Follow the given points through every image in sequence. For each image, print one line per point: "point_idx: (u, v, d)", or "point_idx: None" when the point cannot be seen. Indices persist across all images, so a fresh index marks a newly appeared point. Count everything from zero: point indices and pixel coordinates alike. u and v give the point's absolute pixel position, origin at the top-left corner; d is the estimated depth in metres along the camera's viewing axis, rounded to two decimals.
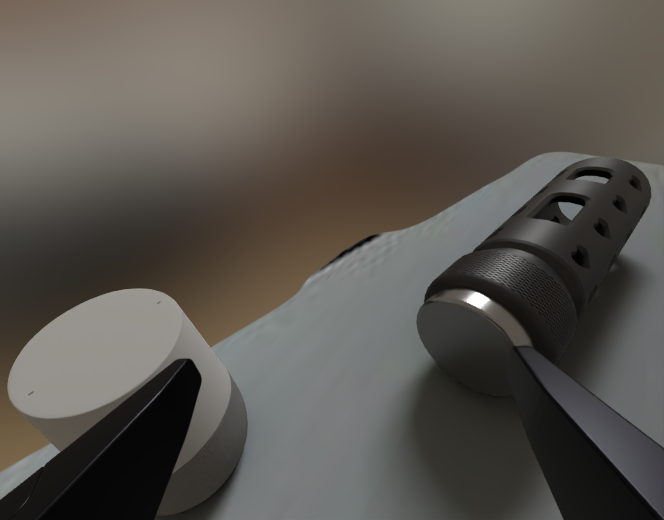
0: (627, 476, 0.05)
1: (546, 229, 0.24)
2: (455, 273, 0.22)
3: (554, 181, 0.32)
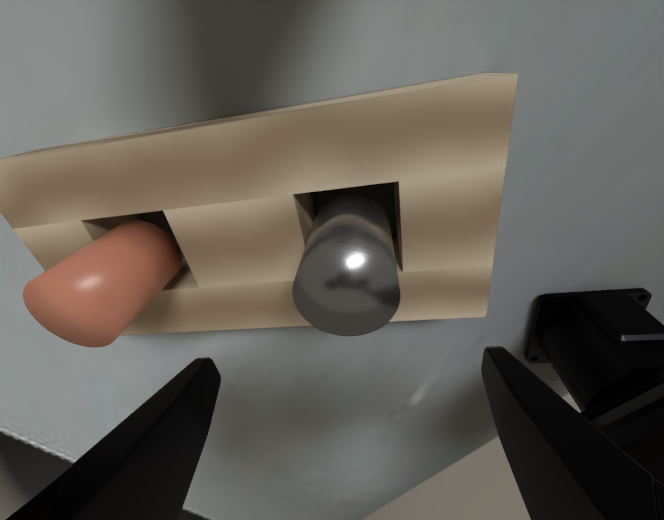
0: (581, 475, 0.05)
1: None
2: None
3: None
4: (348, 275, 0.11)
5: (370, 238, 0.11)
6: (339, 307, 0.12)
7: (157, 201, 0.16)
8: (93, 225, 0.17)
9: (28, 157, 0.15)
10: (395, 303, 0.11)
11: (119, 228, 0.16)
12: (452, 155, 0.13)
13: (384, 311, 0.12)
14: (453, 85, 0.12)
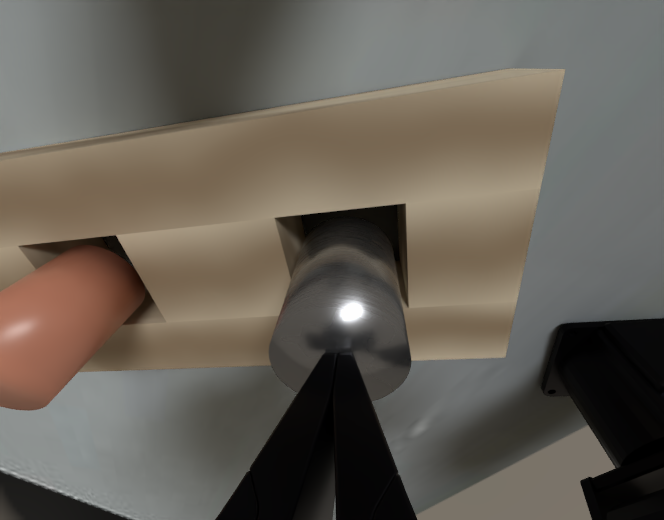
0: (340, 470, 0.05)
1: None
2: None
3: None
4: (342, 337, 0.08)
5: (370, 284, 0.09)
6: None
7: (108, 224, 0.13)
8: (35, 250, 0.14)
9: None
10: (404, 370, 0.09)
11: (63, 256, 0.13)
12: (474, 172, 0.10)
13: (389, 379, 0.09)
14: (479, 83, 0.09)
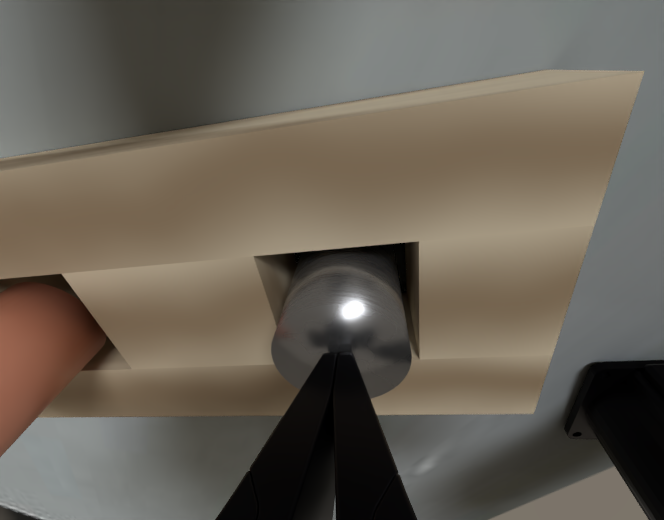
0: (340, 470, 0.05)
1: None
2: None
3: None
4: (344, 334, 0.08)
5: (372, 282, 0.09)
6: None
7: (51, 261, 0.10)
8: None
9: None
10: (404, 367, 0.09)
11: None
12: (509, 204, 0.08)
13: (390, 376, 0.09)
14: (522, 90, 0.07)
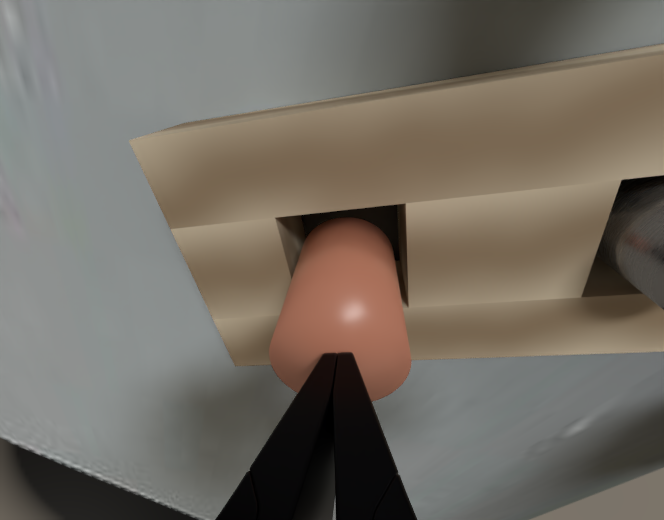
0: (340, 470, 0.05)
1: None
2: None
3: None
4: None
5: None
6: None
7: (403, 190, 0.11)
8: (281, 224, 0.13)
9: (230, 125, 0.10)
10: None
11: (340, 228, 0.11)
12: None
13: None
14: None
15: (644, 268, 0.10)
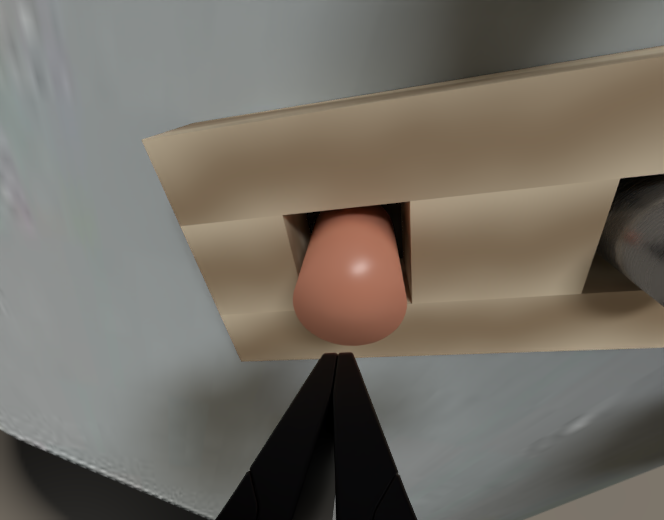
0: (340, 470, 0.05)
1: None
2: None
3: None
4: None
5: None
6: None
7: (408, 188, 0.11)
8: (288, 222, 0.13)
9: (240, 125, 0.11)
10: None
11: None
12: None
13: None
14: None
15: (642, 264, 0.10)
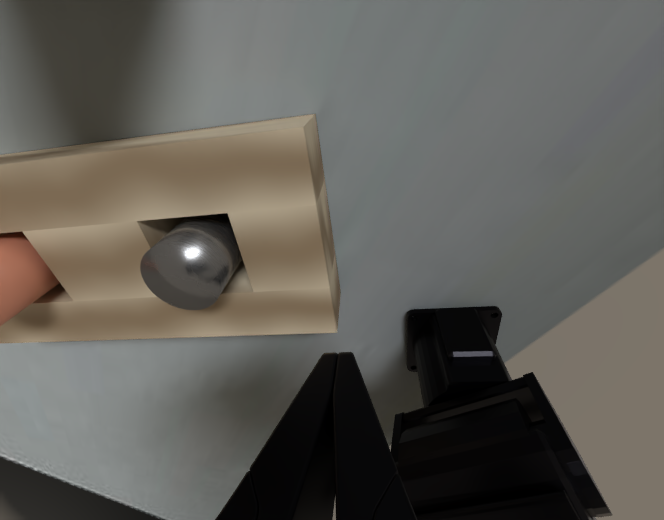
0: (340, 470, 0.05)
1: None
2: None
3: None
4: (177, 263, 0.15)
5: (200, 236, 0.15)
6: (178, 287, 0.16)
7: (15, 223, 0.17)
8: None
9: None
10: (217, 285, 0.15)
11: None
12: (267, 192, 0.14)
13: (211, 291, 0.15)
14: (252, 133, 0.13)
15: None
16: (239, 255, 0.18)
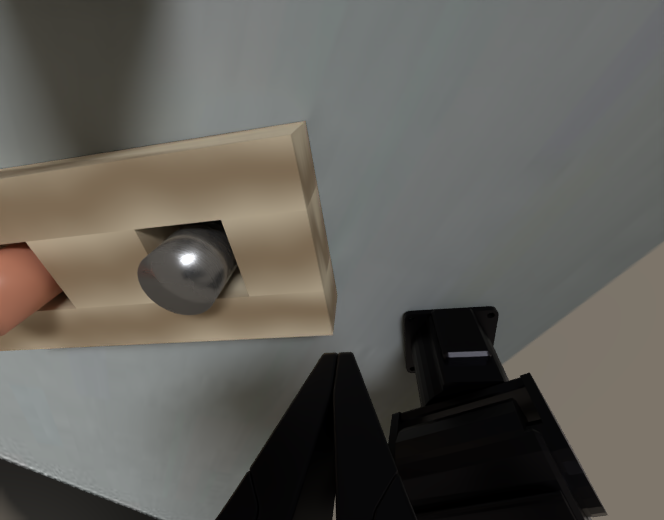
0: (340, 470, 0.05)
1: None
2: None
3: None
4: (173, 269, 0.15)
5: (195, 243, 0.16)
6: (175, 293, 0.16)
7: (18, 234, 0.17)
8: None
9: None
10: (212, 290, 0.16)
11: None
12: (258, 198, 0.15)
13: (207, 296, 0.16)
14: (241, 142, 0.14)
15: None
16: (234, 260, 0.18)
